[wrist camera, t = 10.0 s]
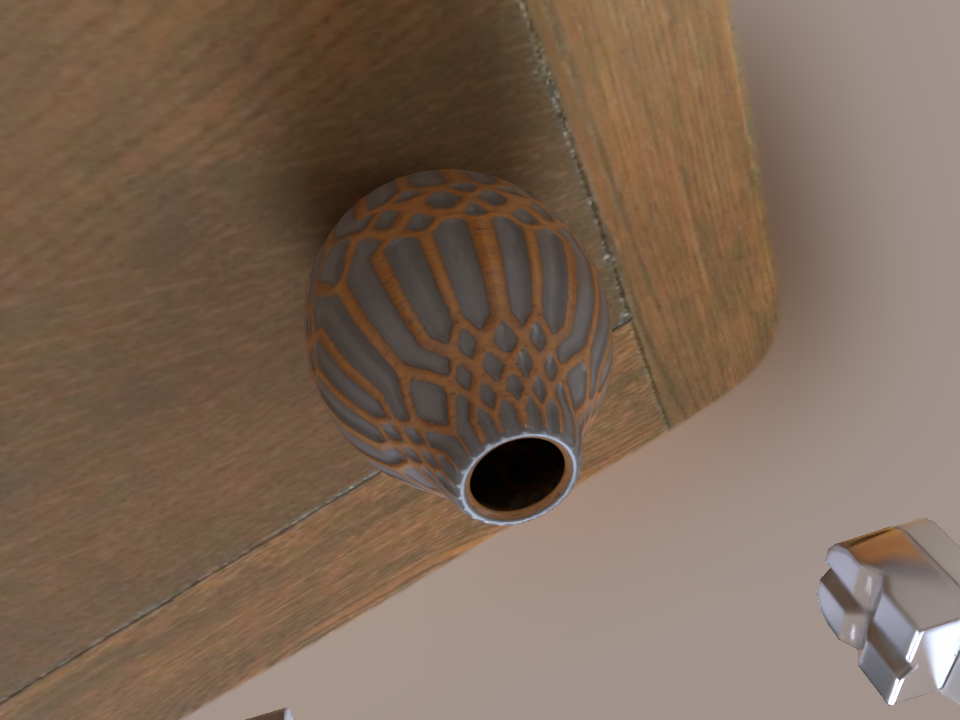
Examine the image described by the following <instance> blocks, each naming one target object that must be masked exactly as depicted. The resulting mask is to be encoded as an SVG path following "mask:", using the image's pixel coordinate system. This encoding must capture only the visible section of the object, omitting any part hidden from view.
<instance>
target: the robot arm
mask: <svg viewBox="0 0 960 720" xmlns="http://www.w3.org/2000/svg"><path fill="white" fill-rule="evenodd" d="M825 561H826V562H827V564H828V565H829V566H830V567H831V568H830V569H829V570H828V571H827V573H826V574H825V575H824V576H823V577H822V578H821V579H820V582H819V588H818V593H817V595H818V599H819V603H820V608H821V611H822V613H823V615H824V617H825V619H826V621H827V623H828V625H829V626H830V628H831V629H832V631H833V632H834V633H835V635H836V636H837V638H838V639H839V640H841V641H843V642H844V643H846V644H848V645H850V646H852V647H854V648H856V649H858V663H859V667H860V668H861V670H862V671H863V672H864V674H865V675H866V676H867V677H868V679H869V680H870V682H871V683H872V684H873V685H874V687H875V688H876V689H877V691H878V692H879V693H880V695H881V696H882V697H883V699H884V700H885V701H886V702H887V704H888V705H889V706H890V705H893V704H897V703H900V702H903V701H907V700H910V699H913V698H917V697H920V696H923V695H926V694H930V693H933V692H936V691H939V690H942V692H941V694H943V695H945V696H946V697H947V698H949V699H950V700H952V701H954V702H955V703H957V704H958V705H960V546H959V545H958V544H957V543H956V542H955V541H954V540H953V539H952V538H951V537H950V536H949V535H948V534H947V533H945V531H943V530H942V529H941V528H940V527H939V526H938V525H937V524H936V523H934V522H932V521H930V520H928V519H926V518H924V519H916V520H912V521H909V522H906V523H903V524H899V525H896V526H893V527H887V528H884V529H881V530H878V531H875V532H872V533H869V534H865V535H862V536H859V537H856V538H853V539H850V540H847V541H844V542H841V543H837V544H835V545H833V546H832V547H831V548H829V549H828V552H827V556H826V559H825ZM246 720H295V719H294V718H293V716H292V714H291V712H290V710H289V708H288V707H287V708H284V709H280V710H277V711H273V712H270V713H266V714H263V715H260V716H257V717H253V718H250V719H246Z"/></svg>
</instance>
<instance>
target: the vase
mask: <svg viewBox="0 0 960 720" xmlns="http://www.w3.org/2000/svg"><path fill="white" fill-rule="evenodd" d="M304 327H305V342H306V350H307V356H308V361H309V366H310V371H311V374H312V377H313V380H314V383H315V385H316V388H317V391H318V393H319V396H320V398H321V400H322V402H323V404H324V406H325V407H326V409H327V411H328V413H329V415H330V416H331V418H332V419H333V421H334V422H335V424H336V425H337V427H338V428H339V430H340V431H341V433H342V434H343V435H344V436H345V438H346V439H347V440H348V441H349V442H350V444H351V445H352V446H353V447H354V448H355V449H356V450H357V451H358V452H359V453H360V454H361V455H362V456H363V457H364V458H365V459H367V460H368V461H369V462H370V463H371V464H372V465H373V466H375V467H376V468H378V469H379V470H380V471H382V472H384V473H385V474H387V475H389V476H390V477H392V478H394V479H396V480H398V481H400V482H402V483H404V484H406V485H409V486H411V487H414V488H416V489H419V490H422V491H425V492H428V493H431V494H435V495H438V496H441V497H444V498H448V499H449V500H450V501H452V502H453V503H454V504H455V505H456V506H457V507H458V508H459V509H461V510H462V511H463V512H464V513H465V514H467V515H468V516H470V517H471V518H473V519H475V520H477V521H480V522H483V523H486V524H491V525H513V524H519V523H523V522H527V521H530V520H533V519H535V518H537V517H540V516H542V515H544V514H545V513H547V512H549V511H550V510H552V509H553V508H555V507H556V506H557V505H559V504H560V503H561V502H562V501H563V500H564V499H565V498H566V497H567V496H568V495H569V493H570V492H571V491H572V489H573V488H574V486H575V484H576V482H577V480H578V478H579V475H580V471H581V466H582V452H583V441H584V439H585V437H586V436H587V434H588V432H589V430H590V428H591V426H592V424H593V422H594V420H595V418H596V416H597V413H598V411H599V409H600V407H601V404H602V402H603V399H604V396H605V393H606V390H607V386H608V382H609V378H610V373H611V367H612V354H613V340H612V327H611V320H610V314H609V309H608V304H607V300H606V296H605V293H604V290H603V286H602V283H601V281H600V278H599V275H598V273H597V271H596V269H595V267H594V264H593V262H592V260H591V258H590V257H589V255H588V253H587V252H586V250H585V249H584V247H583V246H582V244H581V243H580V241H579V240H578V239H577V237H576V236H575V235H574V233H573V232H572V231H571V230H570V229H569V228H568V226H567V225H566V224H565V223H564V222H563V221H562V220H561V219H560V218H559V217H558V216H557V215H556V214H555V213H554V212H553V211H552V210H551V209H550V208H548V207H547V206H546V205H545V204H544V203H543V202H542V201H540V200H539V199H538V198H536V197H535V196H534V195H532V194H530V193H529V192H527V191H526V190H524V189H522V188H520V187H518V186H516V185H514V184H512V183H510V182H507V181H505V180H503V179H500V178H498V177H495V176H491V175H488V174H484V173H479V172H474V171H469V170H461V169H435V170H427V171H422V172H416V173H412V174H409V175H405V176H403V177H400V178H397V179H395V180H392V181H390V182H388V183H386V184H384V185H382V186H380V187H378V188H376V189H375V190H373V191H372V192H370V193H368V194H367V195H366V196H364V197H363V198H362V199H360V200H359V201H358V202H357V203H356V204H354V205H353V206H352V207H351V208H350V209H349V210H348V211H347V212H346V213H345V214H344V215H343V217H342V218H341V219H340V220H339V221H338V223H337V224H336V225H335V227H334V228H333V230H332V231H331V233H330V234H329V236H328V237H327V239H326V240H325V242H324V244H323V246H322V248H321V250H320V252H319V254H318V256H317V259H316V261H315V264H314V267H313V270H312V272H311V276H310V279H309V283H308V287H307V293H306V301H305V316H304Z"/></svg>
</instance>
